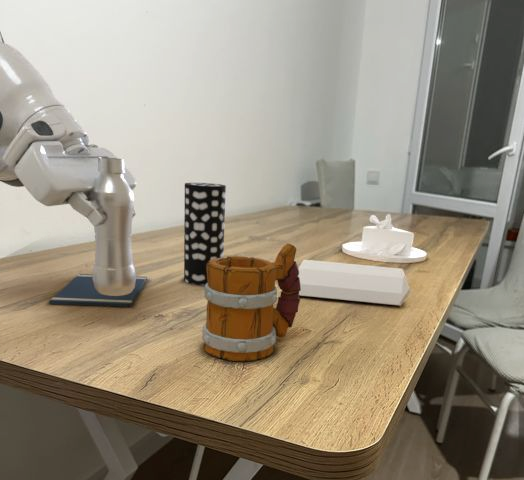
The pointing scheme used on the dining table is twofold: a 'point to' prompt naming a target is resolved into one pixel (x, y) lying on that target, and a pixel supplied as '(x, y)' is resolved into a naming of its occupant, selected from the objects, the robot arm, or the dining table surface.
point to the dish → (385, 244)
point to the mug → (249, 304)
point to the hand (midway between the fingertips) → (116, 220)
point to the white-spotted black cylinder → (203, 229)
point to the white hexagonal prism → (353, 282)
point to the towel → (94, 293)
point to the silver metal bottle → (113, 230)
